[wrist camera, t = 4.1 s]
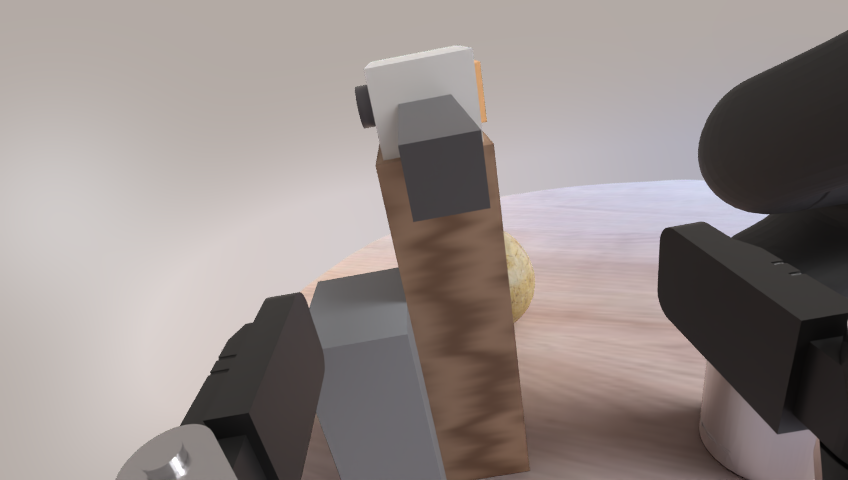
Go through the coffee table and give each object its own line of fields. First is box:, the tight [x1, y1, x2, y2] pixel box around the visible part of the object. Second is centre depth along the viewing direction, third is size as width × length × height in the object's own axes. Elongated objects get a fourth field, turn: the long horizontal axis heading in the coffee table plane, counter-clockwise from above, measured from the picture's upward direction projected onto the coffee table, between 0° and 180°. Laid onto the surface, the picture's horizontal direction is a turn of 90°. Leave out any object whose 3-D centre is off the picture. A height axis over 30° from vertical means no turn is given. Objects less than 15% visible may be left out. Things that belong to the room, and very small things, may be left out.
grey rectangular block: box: [309, 268, 447, 480], centre depth 40 cm, size 8×10×21 cm
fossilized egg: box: [503, 231, 535, 323], centre depth 62 cm, size 13×13×15 cm
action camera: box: [355, 45, 491, 222], centre depth 28 cm, size 9×20×6 cm, turn 4°
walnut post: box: [376, 132, 530, 480], centre depth 41 cm, size 8×10×32 cm
